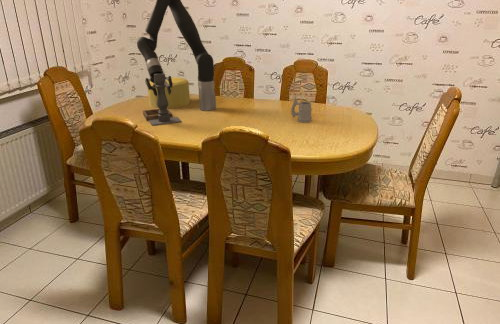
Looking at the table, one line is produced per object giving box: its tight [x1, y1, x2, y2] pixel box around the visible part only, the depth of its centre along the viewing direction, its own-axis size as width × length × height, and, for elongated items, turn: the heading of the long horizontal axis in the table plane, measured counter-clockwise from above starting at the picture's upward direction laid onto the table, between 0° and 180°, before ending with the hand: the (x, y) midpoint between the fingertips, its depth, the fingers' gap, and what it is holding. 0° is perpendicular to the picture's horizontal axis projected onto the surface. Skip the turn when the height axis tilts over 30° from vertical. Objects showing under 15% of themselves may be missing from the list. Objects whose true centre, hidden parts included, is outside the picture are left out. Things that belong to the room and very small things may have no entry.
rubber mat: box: [148, 116, 182, 127], centre depth 206 cm, size 16×10×1 cm, turn 113°
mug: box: [290, 97, 313, 124], centre depth 202 cm, size 8×12×12 cm, turn 61°
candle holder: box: [154, 72, 170, 122], centre depth 201 cm, size 6×6×25 cm
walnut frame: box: [142, 108, 173, 122], centre depth 216 cm, size 14×14×2 cm
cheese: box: [147, 76, 191, 109], centre depth 242 cm, size 26×26×15 cm
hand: (163, 94), depth 198 cm, fingers open, 6 cm apart
